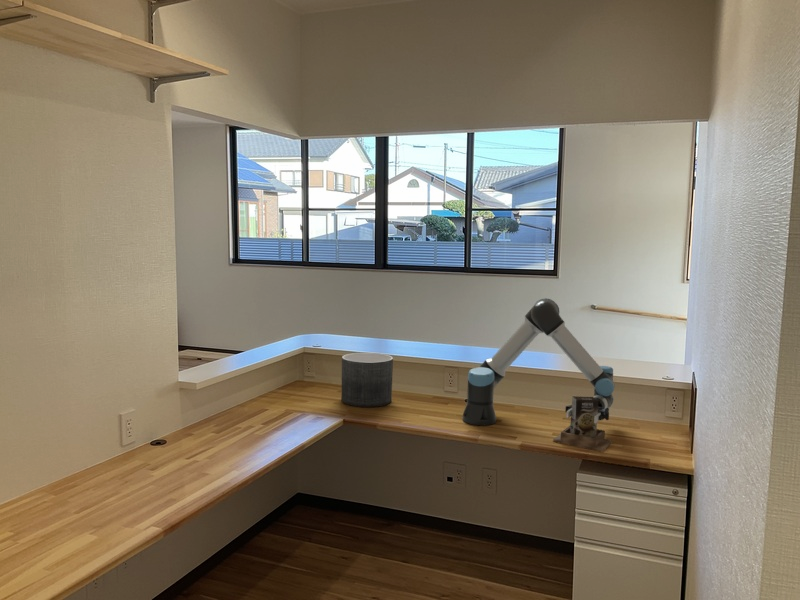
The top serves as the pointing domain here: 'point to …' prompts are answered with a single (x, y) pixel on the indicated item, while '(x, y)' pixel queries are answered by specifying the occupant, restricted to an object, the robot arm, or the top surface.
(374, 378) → the planter
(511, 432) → the top surface
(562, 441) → the stand
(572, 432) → the coffee box
